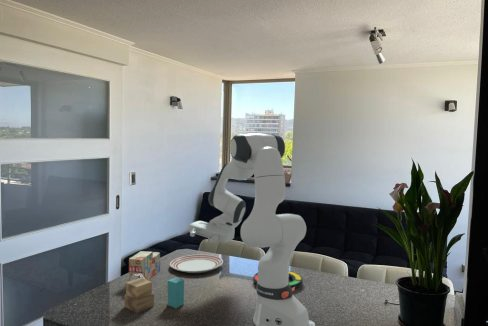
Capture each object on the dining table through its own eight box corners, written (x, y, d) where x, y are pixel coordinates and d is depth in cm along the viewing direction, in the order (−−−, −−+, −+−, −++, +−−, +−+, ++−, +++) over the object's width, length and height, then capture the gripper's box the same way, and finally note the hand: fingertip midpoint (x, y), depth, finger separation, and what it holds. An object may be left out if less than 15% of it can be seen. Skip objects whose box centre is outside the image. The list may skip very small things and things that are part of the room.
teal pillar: (183, 304, 150) (183, 279, 150) (175, 308, 147) (175, 283, 146) (176, 301, 153) (176, 277, 153) (167, 305, 149) (167, 280, 149)
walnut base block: (154, 306, 149) (154, 293, 148) (137, 313, 142) (137, 300, 142) (141, 301, 153) (141, 289, 153) (124, 307, 147) (124, 295, 147)
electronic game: (307, 279, 181) (307, 269, 180) (296, 297, 159) (296, 286, 159) (262, 272, 189) (262, 263, 189) (245, 289, 168) (245, 278, 167)
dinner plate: (163, 276, 182) (163, 269, 182) (176, 259, 209) (176, 253, 209) (220, 277, 181) (220, 271, 181) (225, 260, 208) (225, 254, 208)
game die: (132, 300, 162) (118, 282, 161) (145, 287, 169) (131, 270, 168) (143, 295, 157) (128, 276, 156) (156, 282, 164) (142, 264, 163)
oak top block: (151, 294, 148) (151, 281, 148) (137, 299, 143) (136, 287, 142) (140, 289, 152) (140, 277, 152) (125, 295, 147) (125, 282, 147)
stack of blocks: (148, 269, 191) (148, 245, 190) (160, 270, 190) (160, 246, 189) (128, 285, 170) (128, 258, 169) (141, 286, 169) (141, 259, 168)
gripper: (199, 215, 174) (180, 224, 163) (237, 226, 165) (220, 237, 153) (199, 227, 176) (180, 238, 164) (236, 239, 166) (219, 251, 155)
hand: (200, 237), depth 159 cm, fingers open, 8 cm apart
